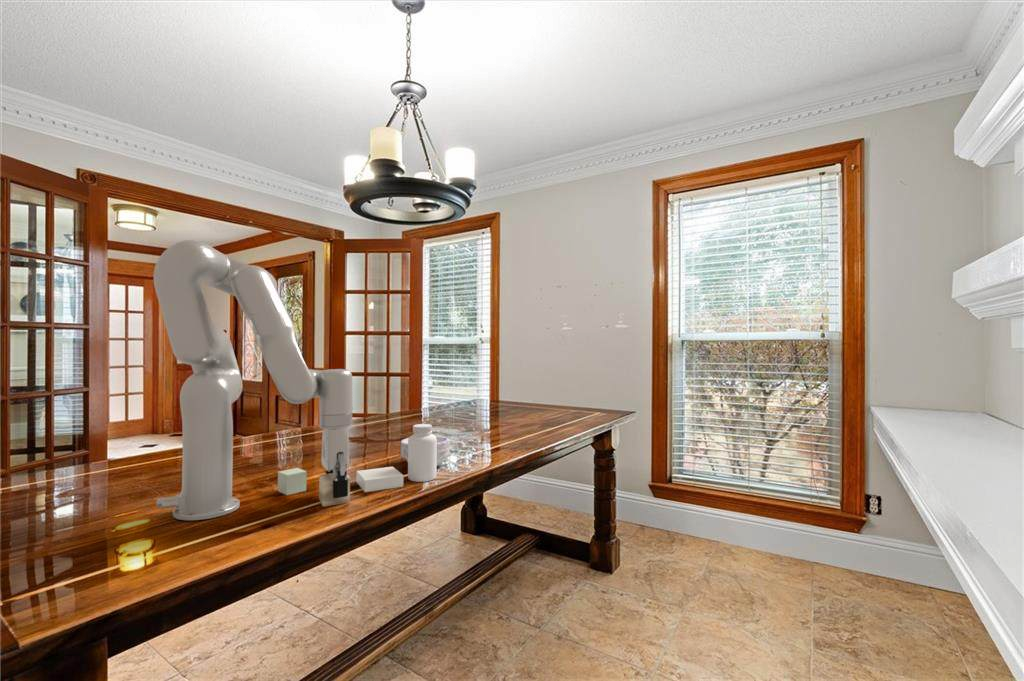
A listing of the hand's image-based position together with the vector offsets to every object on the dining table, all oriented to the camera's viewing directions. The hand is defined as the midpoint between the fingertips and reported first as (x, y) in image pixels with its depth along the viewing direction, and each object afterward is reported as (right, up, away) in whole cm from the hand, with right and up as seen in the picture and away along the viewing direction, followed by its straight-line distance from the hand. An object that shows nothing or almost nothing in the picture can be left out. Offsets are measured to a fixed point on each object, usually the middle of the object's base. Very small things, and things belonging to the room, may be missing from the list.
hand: (336, 491), depth 114 cm
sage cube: (-14, -2, +7) cm, 16 cm away
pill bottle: (+17, -3, +19) cm, 26 cm away
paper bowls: (+15, -3, +34) cm, 38 cm away
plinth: (+7, -2, +13) cm, 15 cm away
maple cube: (-1, -2, 0) cm, 2 cm away
